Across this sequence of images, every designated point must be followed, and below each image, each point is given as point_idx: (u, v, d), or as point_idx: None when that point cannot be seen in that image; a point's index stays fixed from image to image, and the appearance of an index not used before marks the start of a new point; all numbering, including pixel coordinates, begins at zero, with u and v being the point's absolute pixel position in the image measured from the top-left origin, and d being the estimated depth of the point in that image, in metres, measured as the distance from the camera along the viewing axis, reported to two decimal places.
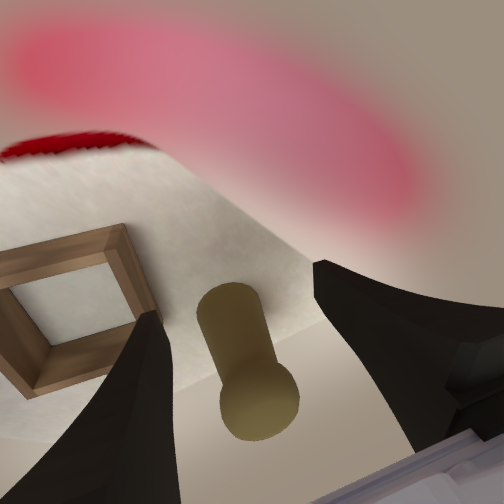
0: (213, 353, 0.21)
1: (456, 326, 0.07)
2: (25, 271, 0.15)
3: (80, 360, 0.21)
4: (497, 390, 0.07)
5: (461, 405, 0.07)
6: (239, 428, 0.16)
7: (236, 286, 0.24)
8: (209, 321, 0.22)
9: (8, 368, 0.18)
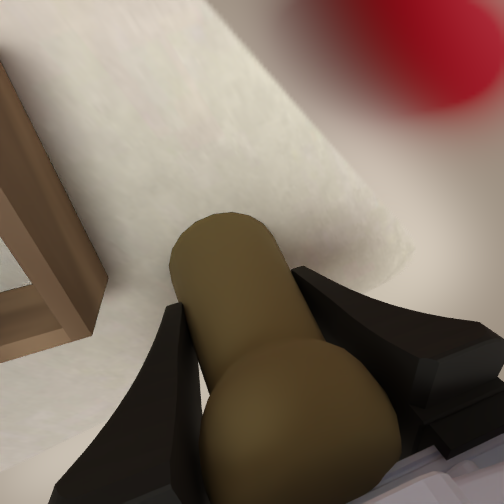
0: (192, 331, 0.10)
1: (419, 340, 0.07)
2: None
3: None
4: (461, 406, 0.07)
5: (423, 422, 0.06)
6: None
7: (238, 217, 0.14)
8: (187, 273, 0.12)
9: None
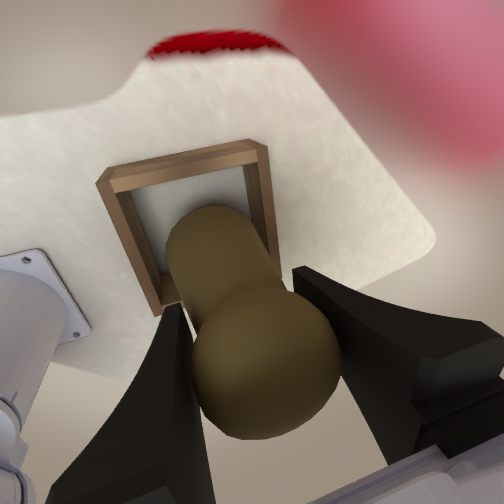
0: (185, 302, 0.13)
1: (421, 339, 0.07)
2: (183, 165, 0.15)
3: None
4: (463, 405, 0.07)
5: (425, 421, 0.06)
6: (228, 417, 0.08)
7: (216, 209, 0.16)
8: (177, 259, 0.14)
9: (146, 278, 0.17)
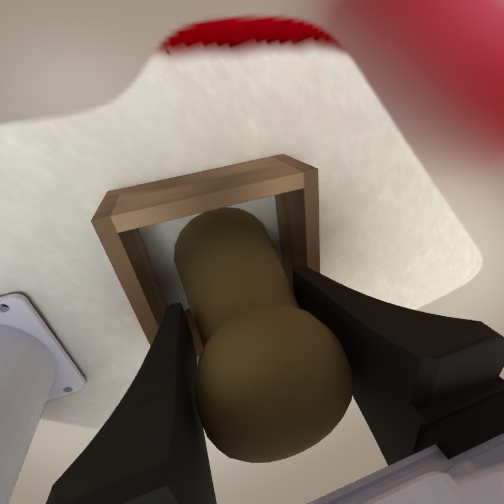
0: (192, 310, 0.12)
1: (421, 340, 0.07)
2: (210, 194, 0.11)
3: None
4: (463, 405, 0.07)
5: (425, 421, 0.06)
6: (231, 442, 0.08)
7: (227, 211, 0.15)
8: (186, 263, 0.14)
9: None
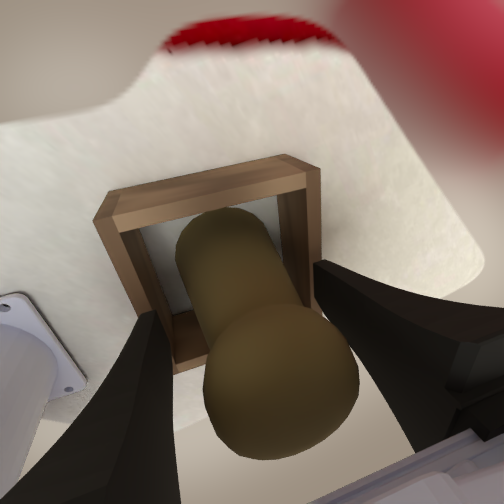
0: (196, 310, 0.12)
1: (456, 326, 0.07)
2: (212, 194, 0.11)
3: None
4: (497, 390, 0.07)
5: (461, 405, 0.07)
6: (242, 440, 0.08)
7: (228, 211, 0.15)
8: (188, 263, 0.14)
9: None
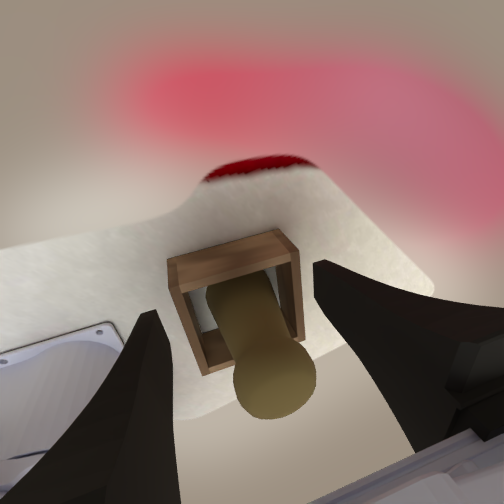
0: (224, 335, 0.20)
1: (455, 326, 0.07)
2: (234, 269, 0.19)
3: None
4: (497, 390, 0.07)
5: (461, 405, 0.07)
6: (255, 407, 0.16)
7: None
8: (217, 304, 0.22)
9: (199, 349, 0.22)
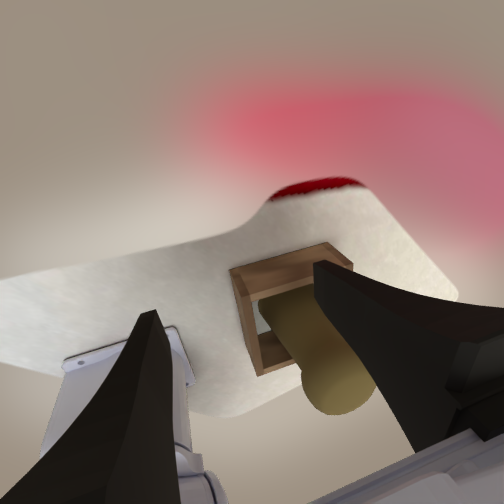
0: (284, 340, 0.22)
1: (456, 326, 0.07)
2: (297, 280, 0.21)
3: None
4: (497, 390, 0.07)
5: (461, 405, 0.07)
6: (327, 404, 0.18)
7: None
8: (274, 311, 0.24)
9: (258, 351, 0.24)
